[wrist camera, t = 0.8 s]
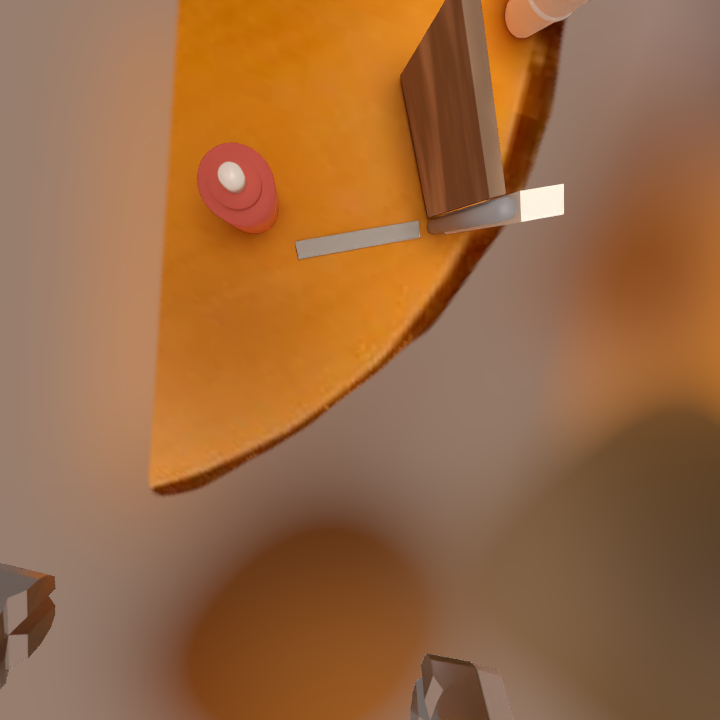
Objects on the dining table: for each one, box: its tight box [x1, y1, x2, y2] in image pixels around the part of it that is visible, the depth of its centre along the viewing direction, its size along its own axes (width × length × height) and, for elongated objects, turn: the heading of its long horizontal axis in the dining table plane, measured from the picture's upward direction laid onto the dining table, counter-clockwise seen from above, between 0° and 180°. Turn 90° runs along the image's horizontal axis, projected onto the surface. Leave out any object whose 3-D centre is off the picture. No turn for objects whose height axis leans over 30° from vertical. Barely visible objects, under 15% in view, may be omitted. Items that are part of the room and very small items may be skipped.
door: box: [401, 0, 506, 217], centre depth 35 cm, size 3×15×14 cm, turn 15°
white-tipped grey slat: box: [295, 184, 564, 259], centre depth 37 cm, size 2×22×16 cm, turn 100°
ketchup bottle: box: [197, 143, 279, 234], centre depth 34 cm, size 6×6×15 cm
